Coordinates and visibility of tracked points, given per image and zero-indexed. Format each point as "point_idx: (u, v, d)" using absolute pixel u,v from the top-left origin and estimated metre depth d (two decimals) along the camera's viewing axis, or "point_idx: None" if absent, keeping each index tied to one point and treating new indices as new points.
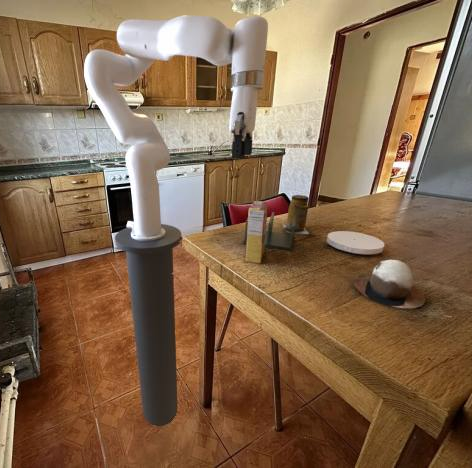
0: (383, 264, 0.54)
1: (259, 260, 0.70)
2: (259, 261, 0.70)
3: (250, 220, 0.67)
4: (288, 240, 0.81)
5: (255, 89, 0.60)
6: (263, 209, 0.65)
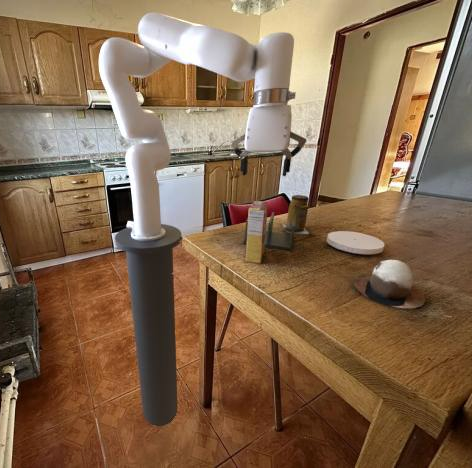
0: (383, 264, 0.54)
1: (259, 260, 0.70)
2: (259, 261, 0.70)
3: (250, 220, 0.67)
4: (288, 240, 0.81)
5: (260, 108, 0.59)
6: (263, 209, 0.65)
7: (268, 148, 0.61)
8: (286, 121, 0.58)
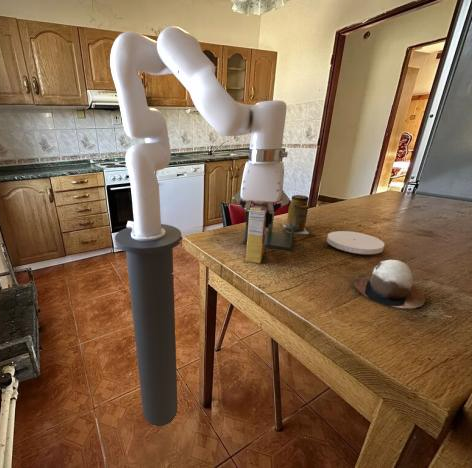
0: (383, 264, 0.54)
1: (259, 260, 0.70)
2: (259, 261, 0.70)
3: (251, 220, 0.67)
4: (288, 240, 0.81)
5: (255, 164, 0.63)
6: (264, 209, 0.65)
7: (262, 199, 0.66)
8: (279, 177, 0.62)
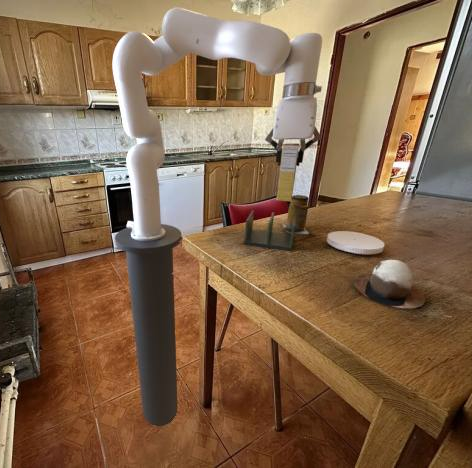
0: (383, 264, 0.54)
1: (290, 198, 0.72)
2: (290, 199, 0.72)
3: (284, 156, 0.69)
4: (288, 240, 0.81)
5: (289, 100, 0.66)
6: (297, 145, 0.68)
7: (295, 136, 0.69)
8: (312, 112, 0.65)
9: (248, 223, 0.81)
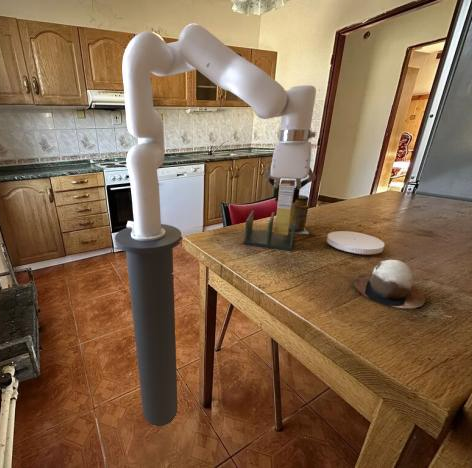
0: (383, 264, 0.54)
1: (287, 232, 0.77)
2: (287, 233, 0.77)
3: (281, 195, 0.74)
4: (288, 240, 0.81)
5: (285, 144, 0.71)
6: (293, 185, 0.72)
7: (291, 176, 0.73)
8: (307, 155, 0.70)
9: (248, 223, 0.81)
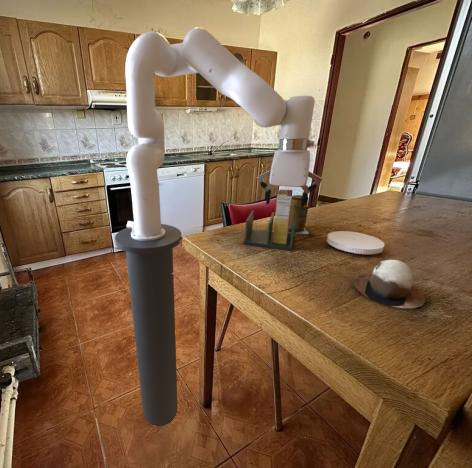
0: (383, 264, 0.54)
1: (285, 241, 0.78)
2: (285, 242, 0.78)
3: (278, 205, 0.75)
4: (288, 240, 0.81)
5: (284, 152, 0.71)
6: (290, 195, 0.74)
7: (290, 184, 0.74)
8: (306, 164, 0.70)
9: (248, 223, 0.81)
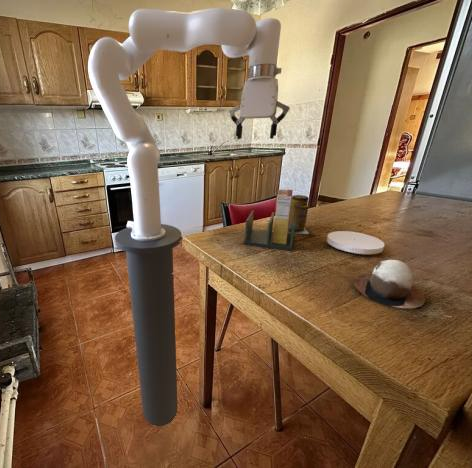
0: (383, 264, 0.54)
1: (285, 241, 0.78)
2: (285, 242, 0.78)
3: (278, 205, 0.75)
4: (288, 240, 0.81)
5: (253, 81, 0.72)
6: (290, 195, 0.74)
7: (258, 114, 0.75)
8: (273, 91, 0.71)
9: (248, 223, 0.81)
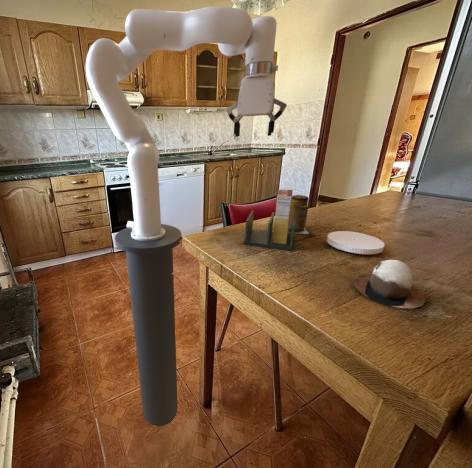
0: (383, 264, 0.54)
1: (285, 241, 0.78)
2: (285, 242, 0.78)
3: (278, 205, 0.75)
4: (288, 240, 0.81)
5: (250, 78, 0.73)
6: (290, 195, 0.74)
7: (256, 112, 0.75)
8: (270, 89, 0.72)
9: (248, 223, 0.81)
